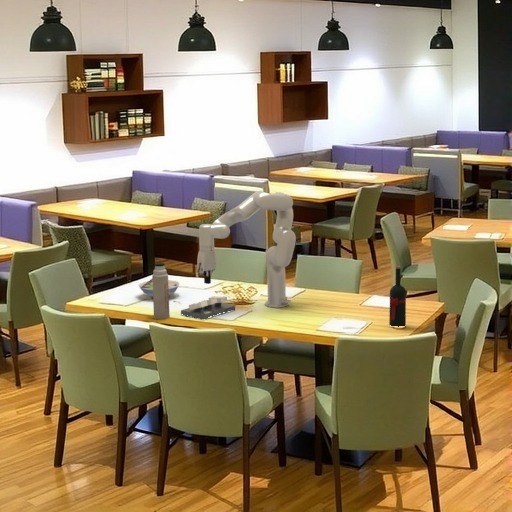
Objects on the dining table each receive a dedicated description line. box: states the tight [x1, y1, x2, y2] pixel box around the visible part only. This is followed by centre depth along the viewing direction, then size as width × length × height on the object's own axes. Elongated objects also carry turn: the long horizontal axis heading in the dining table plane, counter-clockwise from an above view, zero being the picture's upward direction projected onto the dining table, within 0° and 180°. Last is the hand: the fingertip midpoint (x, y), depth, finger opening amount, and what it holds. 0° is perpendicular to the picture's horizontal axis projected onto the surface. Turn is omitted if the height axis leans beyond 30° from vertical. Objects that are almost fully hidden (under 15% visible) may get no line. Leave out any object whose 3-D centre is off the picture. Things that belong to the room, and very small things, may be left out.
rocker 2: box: [200, 298, 218, 305], centre depth 493 cm, size 9×4×3 cm, turn 49°
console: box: [180, 302, 236, 320], centre depth 493 cm, size 16×24×4 cm, turn 140°
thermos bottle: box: [151, 262, 171, 320], centre depth 484 cm, size 8×8×28 cm
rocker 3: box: [207, 295, 228, 303], centre depth 498 cm, size 9×4×3 cm, turn 50°
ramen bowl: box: [138, 278, 181, 298], centre depth 528 cm, size 25×23×8 cm
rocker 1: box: [188, 300, 208, 310], centre depth 487 cm, size 9×4×3 cm, turn 49°
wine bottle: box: [388, 265, 407, 327], centre depth 457 cm, size 8×10×30 cm
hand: (207, 283), depth 492 cm, fingers closed
